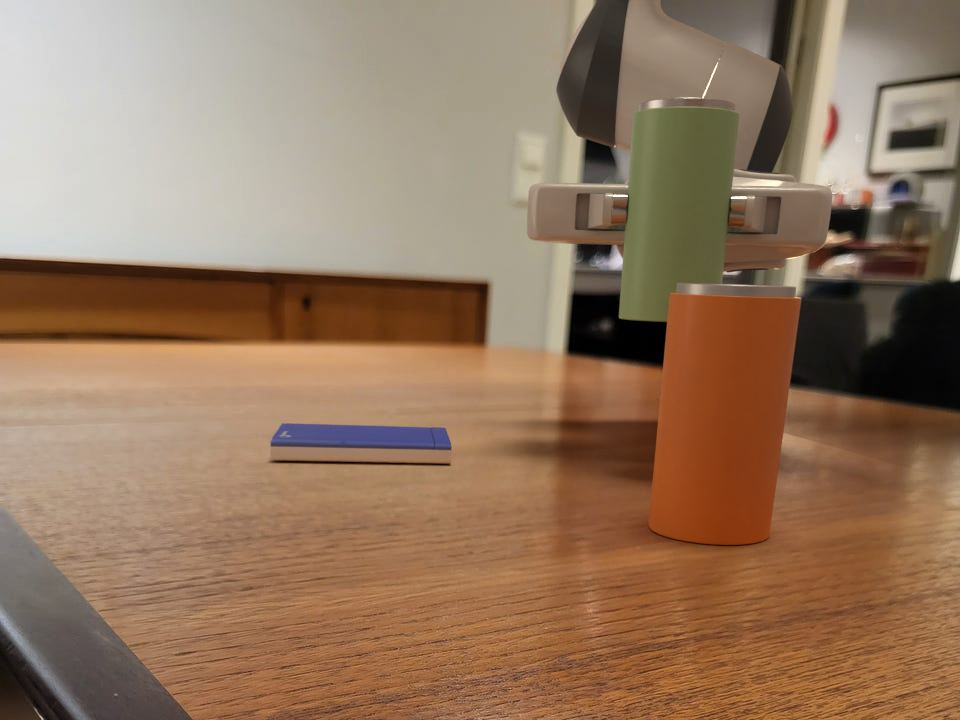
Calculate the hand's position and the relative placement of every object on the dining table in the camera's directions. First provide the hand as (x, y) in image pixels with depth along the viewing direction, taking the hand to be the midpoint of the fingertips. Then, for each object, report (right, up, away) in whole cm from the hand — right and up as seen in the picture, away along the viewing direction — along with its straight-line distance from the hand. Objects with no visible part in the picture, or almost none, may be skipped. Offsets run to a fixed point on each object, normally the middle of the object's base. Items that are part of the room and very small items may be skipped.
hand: (678, 209), depth 62 cm
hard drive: (-21, -13, +11) cm, 27 cm away
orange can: (0, -21, -8) cm, 22 cm away
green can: (0, -6, +3) cm, 7 cm away
